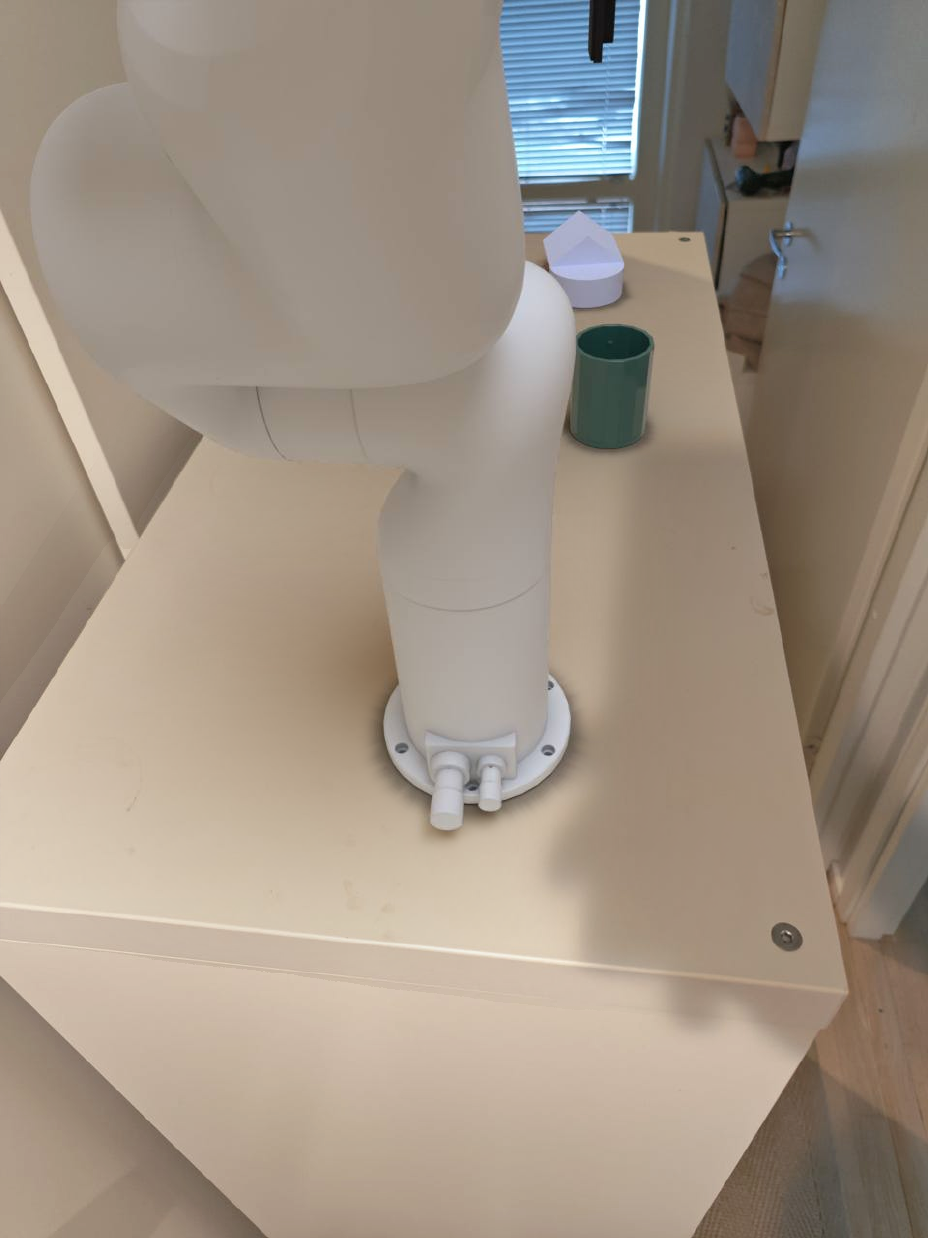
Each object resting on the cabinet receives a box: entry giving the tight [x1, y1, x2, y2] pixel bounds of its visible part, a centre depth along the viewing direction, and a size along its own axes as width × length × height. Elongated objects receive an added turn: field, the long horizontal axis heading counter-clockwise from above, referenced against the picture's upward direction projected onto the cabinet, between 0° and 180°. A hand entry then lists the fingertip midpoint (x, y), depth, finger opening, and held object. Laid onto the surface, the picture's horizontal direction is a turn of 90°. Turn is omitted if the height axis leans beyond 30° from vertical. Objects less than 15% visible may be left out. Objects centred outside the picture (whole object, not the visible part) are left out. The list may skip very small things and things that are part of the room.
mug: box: [569, 323, 655, 449], centre depth 81 cm, size 10×7×9 cm
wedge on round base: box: [542, 210, 625, 309], centre depth 104 cm, size 9×7×13 cm
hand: (519, 61), depth 54 cm, fingers open, 9 cm apart
